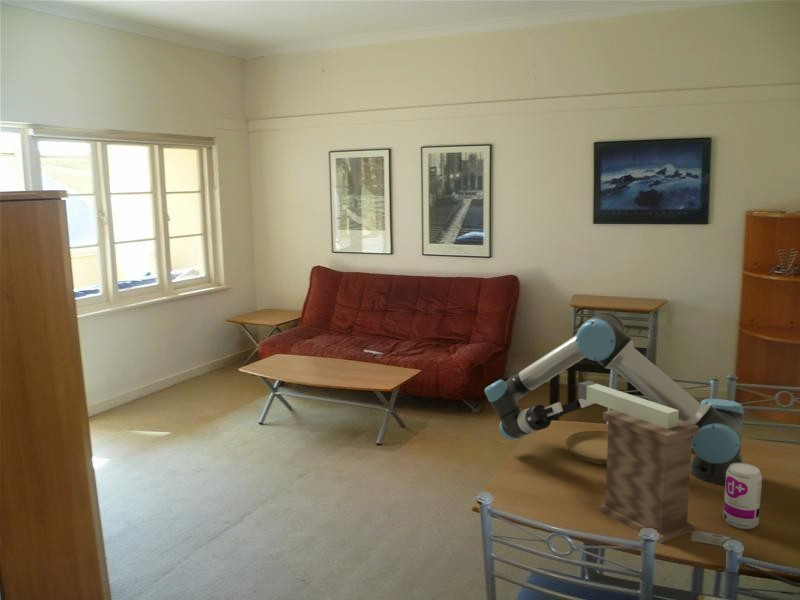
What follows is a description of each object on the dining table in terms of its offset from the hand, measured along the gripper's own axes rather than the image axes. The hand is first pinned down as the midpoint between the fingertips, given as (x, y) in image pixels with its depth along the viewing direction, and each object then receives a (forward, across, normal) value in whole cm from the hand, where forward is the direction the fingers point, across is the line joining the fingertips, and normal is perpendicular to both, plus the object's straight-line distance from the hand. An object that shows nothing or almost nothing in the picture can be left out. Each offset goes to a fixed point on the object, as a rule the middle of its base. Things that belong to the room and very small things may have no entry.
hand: (578, 402), depth 193 cm
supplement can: (+20, -20, -42) cm, 51 cm away
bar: (+16, 0, -6) cm, 17 cm away
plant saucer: (-24, -25, -16) cm, 38 cm away
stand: (+8, 0, -34) cm, 36 cm away
